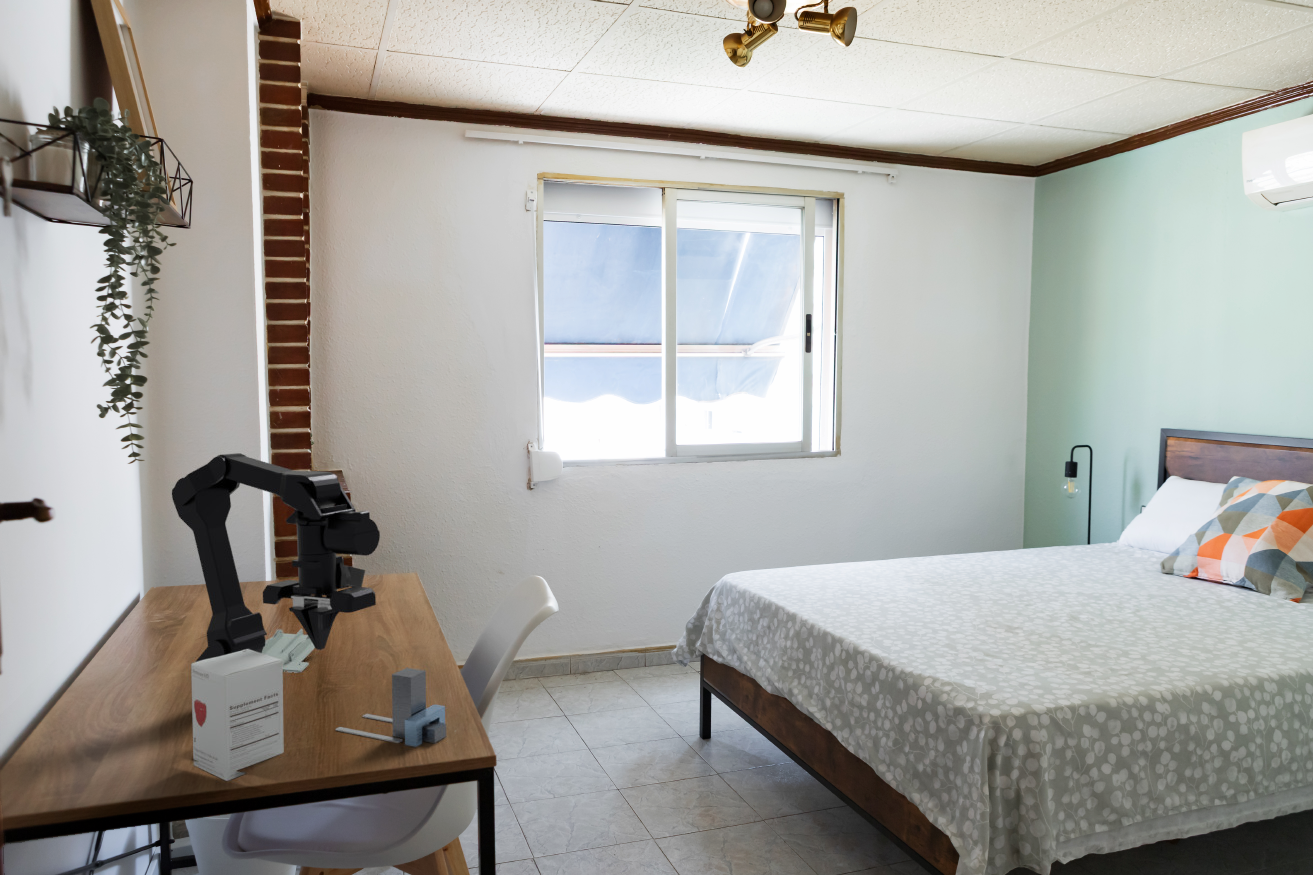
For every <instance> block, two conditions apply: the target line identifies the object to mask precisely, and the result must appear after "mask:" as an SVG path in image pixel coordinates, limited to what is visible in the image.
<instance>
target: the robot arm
mask: <svg viewBox="0 0 1313 875" xmlns="http://www.w3.org/2000/svg"><path fill="white" fill-rule="evenodd" d="M241 484H242V485H245V486H248V487H251V488H255V489H257V490H261V491H264V492H267V493H271V494H273V495H276V496H278V497H279V498H280V500H281V501H282V502H283V503H284V504H285V505H287V506H289V507H291V508H292V509H294V511H293V513H291V515H289V516H288V517H287V518H286V519H285V522H286V524H293V525H296V537H297V538H296V539H297V543H296V544H297V559H294V560H291V567H292V568H297V570H298V571H297V572H298V580H294V579H293V580H292V579H287V580H283V581H279V582H275V583H271V584H267V585H266V586H265V587H264V589H263V591H262V604H267V605H275V606H276V605H278V604H279V603H280V601H281V600H282V599H291V600H292V606H291V607H290V606H289V608H288V610H289V612H291V613H292V614H294V616H295V618H296V619H297V620H298V622H299V623H300V624H301V626H302V629H303V630H304V631H305V633H306V635H308V636H309V638H310V640H311V641H312V643H313V645H314V647H315V648H314V649H316V650H318V651H321V650H324V649H326V646H327V642H328V639H329V637H330V633H331V630H332V627H333V625H334V623H335V620H336V617H337V615H339V614H340V613H344V614H345V613H346V614H347V613H349V614H350V613H354V612H358V611H361V610H364V609H367V608H370V607H374V606H376V605H377V604H376V598H377V597H376V592H375V591H374V590H373V588H371V587H364V586H363V583H364V578H365V574H366V570H365V569H362V568H359V567H354V566H349V565H345V563H344V557H343V556H342V555H354V556H370V555H372V554H373V553H374V552H375V551H376V549H377V548H378V546H379V544H380V538H381V537H380V535H381V533H380V530H379V528H378V526H377V523H376V521H374V520H373V519H372V518H371V517H370V511H369V510H360V511H357V510H356V508H355V507H354V505H353V503H352V501H351V500H350V499H349V497H348V495H347V494H346V491H344V489H343V487H342V486H341V483H340V482H339V478H338V475H337V474H335V473H333V472H330V471H319V470H317V471H316V470H292V469H290V468H286V467H283V466H279V465H276V464H273V463H269V462H265V461H263V460H259V459H255V458H252V457H249V456H246V454H242V453H238V452H237V453H236V452H235V453H227V454H226V453H225V454H219V455H217V456H215V457H213V458H212V459H211V460H210V461H209V462H207V464H203V465H202V466H200V467H198V468H196V469H195V470H193V471H191V472H189V473H188V474H186V475H185V476H184V477H181V478H179V479H178V480H177V481H176V482H175V484H174V487H173V488H172V490H171V498H172V502H173V504H174V507H175V509H176V513H177V515H178V517H179V519H181V521H182V522H183V523H184V524H186V526H187V527H189V529H190V530H192V534H193V536H194V540H195V545H196V550H197V552H198V553H197V554H198V558H199V561H200V565H201V570H202V574H203V575H202V576H203V578H204V582H205V588H206V591H207V595H208V601H209V604H210V608H211V612H212V613H211V614H212V615H211V618H210V621H209V624H208V626H207V631H206V641H207V647H206V648H205V649H204V650H203V652H202V653H201V654H200V655H199V657H198V658H196V660H195V662H198V661H201V660H205V659H210V658H214V657H219V656H223V655H227V654H231V653H235V652H238V651H242V650H245V649H250V650H253V651H256V652H259V653H262V650H263V647H265V641H266V636H267V635H268V633H267V632H266V630H265V627H264V623H263V616H262V614H261V613H260V612H259V611H258V612H254V613H253V612H252V611H251V610H250V609H249V608H248V607H247V605H246V603H245V600H244V596H243V593H242V588H241V584H240V579H239V576H238V575H239V574H238V572H237V571H238V570H237V568H236V563H235V559H234V558H235V557H234V555H233V551H232V547H231V543H230V537H229V534H228V529H227V524H226V522H227V519H228V517H229V513H230V511H231V508H232V503H231V502H232V501H231V495H232V494H233V493H234V492H235V491H237V489H238V488H239V487H240V485H241ZM337 554H339V555H337Z"/></svg>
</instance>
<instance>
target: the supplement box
mask: <svg viewBox="0 0 1313 875" xmlns="http://www.w3.org/2000/svg"><path fill="white" fill-rule="evenodd" d="M282 662H283V661H282V660H281V659H278V658H274V657H271V656H269V655H267V654H264V653H259V652H256V651H253V650H250V649H245V650H242V651H238V652H235V653H231V654H227V655H223V656H219V657H214V658H210V659H205V660H201V661H198V662H196V661H195V662H192V663H191V664H190V665H191V666H190V667H191V668H190V669H191V672H190V673H191V676H190V677H191V710H192V711H191V712H192V750H193V753H192V754H193V756H192V757H193V766H195V767H197V768H199V769H200V770H202V771H205V772H207V773H209V774H211V775H213V776H215V777H217V778H220V779H222V780H224V781H226V782H227V781H231V780H233V779H235V778H238V777H241V776H244V775H246V774H247V772H243V771H240V770H241V769H244V768H247V767H249V766H252V765H255V764H258V763H261V762H263V761H266V760H268V759H271V758H273V757H276V756H279V755H281V754H283V753H284V693H283V692H284V689H283V687H284V686H283V685H284V680H283V677H284V676H283V675H284V674H283V673H284V671H283V665H282ZM238 770H239V771H238Z"/></svg>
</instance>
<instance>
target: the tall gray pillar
mask: <svg viewBox="0 0 1313 875" xmlns="http://www.w3.org/2000/svg"><path fill="white" fill-rule="evenodd" d="M426 672H427V671H426V670H423V669H418V668H417V669H416V668H409V667H406V668H403V669H401V670H399V671H397V672H395V673H392V674H391V695H392V696H391V698H392V699H391V700H392V702H391V705H392V707H391V708H392V716H391V717H392V719H393V723H392V737H394V738H399V739H405V719H407V718H409V717H411V716H413V715H415V714H417V713H419V712H421V711H423V710H424V709H426V708H427V676H426V674H427V673H426ZM445 738H447V723H446V722H445V723H441V722H435V721H431V722H429V723H428V724H426V725H424V726H422V742H427V743H430V744H436V743H438V742H439V741H441V740H443V739H445Z"/></svg>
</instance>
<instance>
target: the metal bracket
mask: <svg viewBox="0 0 1313 875" xmlns="http://www.w3.org/2000/svg"><path fill="white" fill-rule="evenodd" d="M315 649H316V648H315V647H314V645H313V643H312V641H311V640H310V638H309V636H308V634H304V628H301V629H299V630H298V631H297V633H284V631H283V629H280V628H279V629H276V631H275V633H274V634H273V636H271V637H270V638H268V639H265V647H263V650H262V653H264V654H267V655H269V656H271V657H274V658H278V659H281V660H282V661H283V662H282V665H283V673H292V672H294V673H295V674H296V673H298V674H299V673H302V672H303V671H304V670H305V669H306V668H307V667H308V666H309V665H310V663H309V662H307V661H305V662H304V660H305V659H306V658H307V657H308V656H309V655H310V653H311V652H313V650H315ZM285 671H287V672H285Z"/></svg>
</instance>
